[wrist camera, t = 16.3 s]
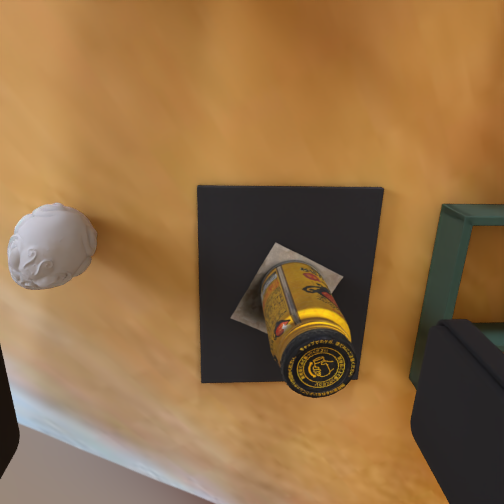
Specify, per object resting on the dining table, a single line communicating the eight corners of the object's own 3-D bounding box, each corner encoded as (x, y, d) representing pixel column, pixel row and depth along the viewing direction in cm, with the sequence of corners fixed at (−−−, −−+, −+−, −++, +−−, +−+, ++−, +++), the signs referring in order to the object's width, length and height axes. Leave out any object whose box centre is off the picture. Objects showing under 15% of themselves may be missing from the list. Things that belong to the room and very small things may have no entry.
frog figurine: (15, 236, 37) (-28, 268, 30) (63, 176, 35) (27, 197, 29) (75, 278, 39) (46, 317, 32) (123, 223, 37) (103, 252, 31)
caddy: (441, 203, 38) (465, 216, 35) (574, 204, 39) (611, 217, 36) (408, 377, 45) (425, 404, 42) (522, 375, 46) (548, 400, 42)
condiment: (342, 275, 40) (390, 350, 29) (295, 345, 42) (322, 439, 31) (275, 241, 38) (297, 306, 27) (230, 316, 40) (233, 404, 29)
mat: (197, 185, 36) (197, 186, 36) (382, 187, 37) (384, 188, 37) (201, 379, 44) (201, 383, 43) (356, 376, 45) (357, 379, 44)
